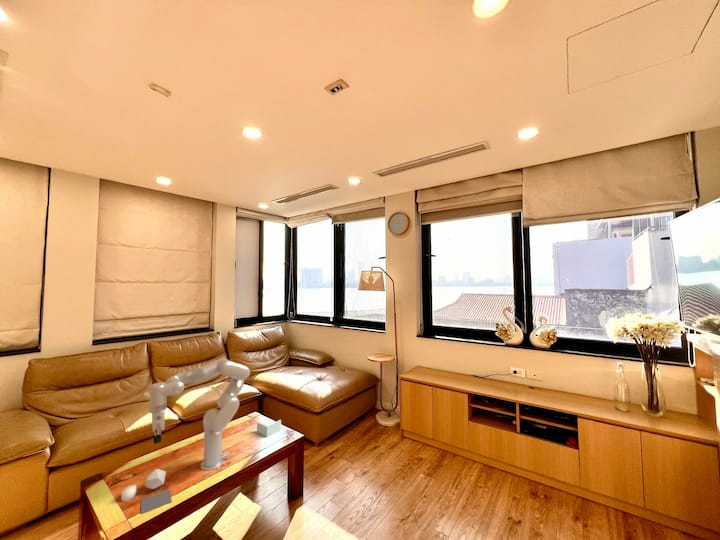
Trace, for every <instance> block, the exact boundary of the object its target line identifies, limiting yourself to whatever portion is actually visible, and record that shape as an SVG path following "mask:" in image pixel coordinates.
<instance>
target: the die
mask: <svg viewBox="0 0 720 540" xmlns="http://www.w3.org/2000/svg"><path fill="white" fill-rule="evenodd" d="M166 473H167V471H165V470H163V469H159V468H156V469H154V470H152V471H150V472H149V473H148V474H147V477H146V480H145V485H144V486H145V487H146V488H148V489H150V490H155V489H158V488H159V487H161V486H162V485H164V483H165V479H166Z"/></svg>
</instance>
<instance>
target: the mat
mask: <svg viewBox="0 0 720 540" xmlns="http://www.w3.org/2000/svg"><path fill="white" fill-rule="evenodd" d="M171 503H172V494H171V489H170V488H168V489H166V490H163V491H161V492H157V493H154V494H152V495H150V496H147V497H145V498H141V499H140V515H143V514H146V513H147V512H151V511H152V510H155V509H157V508H160V507H162V506H165V505H168V504H171Z"/></svg>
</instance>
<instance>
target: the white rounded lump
mask: <svg viewBox="0 0 720 540" xmlns="http://www.w3.org/2000/svg"><path fill="white" fill-rule="evenodd" d="M120 496H121V497H120V501H122V502H128V501H131V500H132V499H134V498H136V496H137V485H136V484H131V485H127V486H126V487H124V488H123V489H121V491H120Z"/></svg>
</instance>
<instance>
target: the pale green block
mask: <svg viewBox="0 0 720 540" xmlns="http://www.w3.org/2000/svg"><path fill="white" fill-rule="evenodd" d="M280 431H282V420H281V419H279V420H277V421H274V422H273V423H271V424H268V425H267V424H265V423H263V422H261V421H256V432H257V433H258V434H260V435H262V436H264V437H266V438H269V437H271V436H272V435H274V434H276V433H278V432H280Z"/></svg>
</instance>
